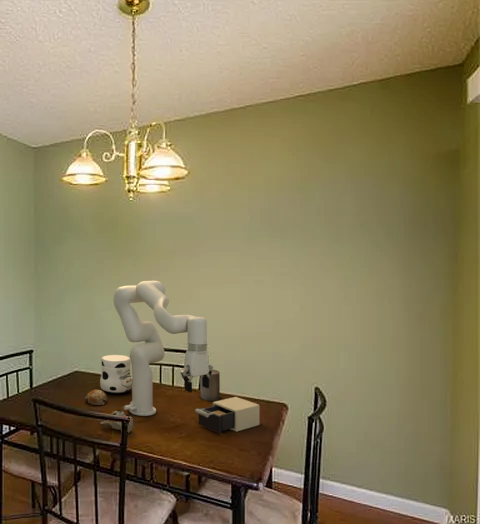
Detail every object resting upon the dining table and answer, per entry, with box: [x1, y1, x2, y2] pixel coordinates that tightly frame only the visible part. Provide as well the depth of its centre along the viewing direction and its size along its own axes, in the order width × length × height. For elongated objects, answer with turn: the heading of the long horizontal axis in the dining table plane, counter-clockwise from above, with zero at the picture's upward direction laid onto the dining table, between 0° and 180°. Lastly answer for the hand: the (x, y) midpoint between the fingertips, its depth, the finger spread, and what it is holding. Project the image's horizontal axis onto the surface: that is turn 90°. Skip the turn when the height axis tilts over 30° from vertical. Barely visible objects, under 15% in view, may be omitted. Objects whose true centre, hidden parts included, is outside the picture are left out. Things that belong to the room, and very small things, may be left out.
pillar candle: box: [199, 369, 221, 402], centre depth 219 cm, size 10×10×15 cm
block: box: [213, 410, 226, 416], centre depth 180 cm, size 4×4×4 cm
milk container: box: [99, 354, 132, 395], centre depth 231 cm, size 17×17×18 cm
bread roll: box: [85, 389, 108, 406], centre depth 213 cm, size 10×10×8 cm
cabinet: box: [212, 396, 261, 433], centre depth 185 cm, size 15×13×9 cm
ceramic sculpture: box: [98, 409, 134, 434], centre depth 178 cm, size 11×9×15 cm
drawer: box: [194, 405, 235, 434], centre depth 179 cm, size 18×11×8 cm, turn 120°
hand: (197, 389), depth 173 cm, fingers open, 9 cm apart
